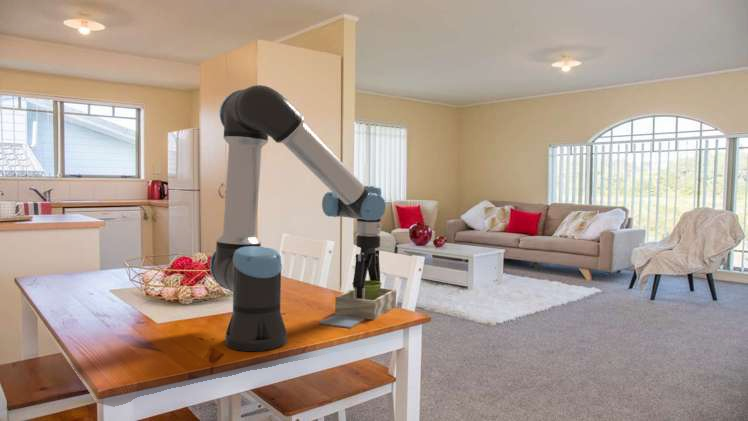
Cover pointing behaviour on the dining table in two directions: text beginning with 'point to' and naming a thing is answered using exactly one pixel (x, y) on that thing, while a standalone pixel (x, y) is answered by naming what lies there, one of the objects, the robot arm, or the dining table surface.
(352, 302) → the frame
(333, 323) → the mat
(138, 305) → the dining table surface
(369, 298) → the plant pot
